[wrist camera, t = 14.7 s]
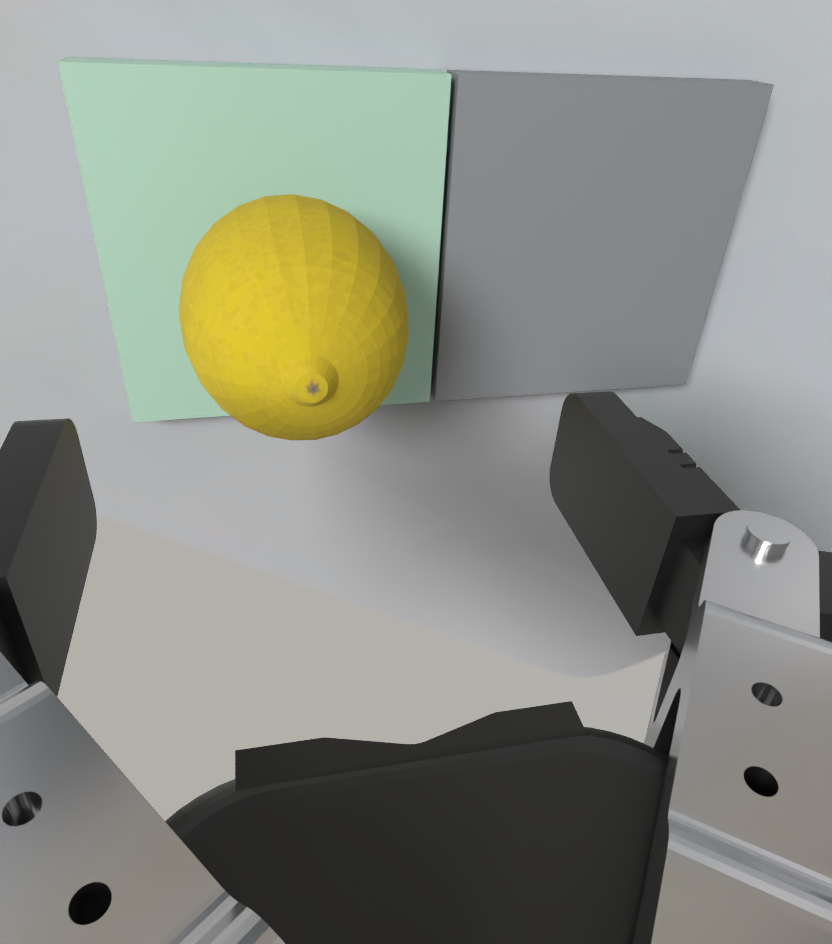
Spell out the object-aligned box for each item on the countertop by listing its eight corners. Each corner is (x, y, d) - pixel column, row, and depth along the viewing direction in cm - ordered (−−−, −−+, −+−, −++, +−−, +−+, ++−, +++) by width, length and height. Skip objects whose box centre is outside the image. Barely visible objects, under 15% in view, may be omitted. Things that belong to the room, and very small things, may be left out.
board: (749, 80, 22) (773, 84, 21) (669, 369, 28) (685, 384, 27) (66, 57, 18) (58, 61, 17) (135, 404, 24) (132, 422, 23)
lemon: (391, 328, 23) (457, 464, 16) (221, 369, 22) (220, 526, 16) (357, 145, 19) (423, 224, 13) (156, 188, 19) (121, 292, 13)
